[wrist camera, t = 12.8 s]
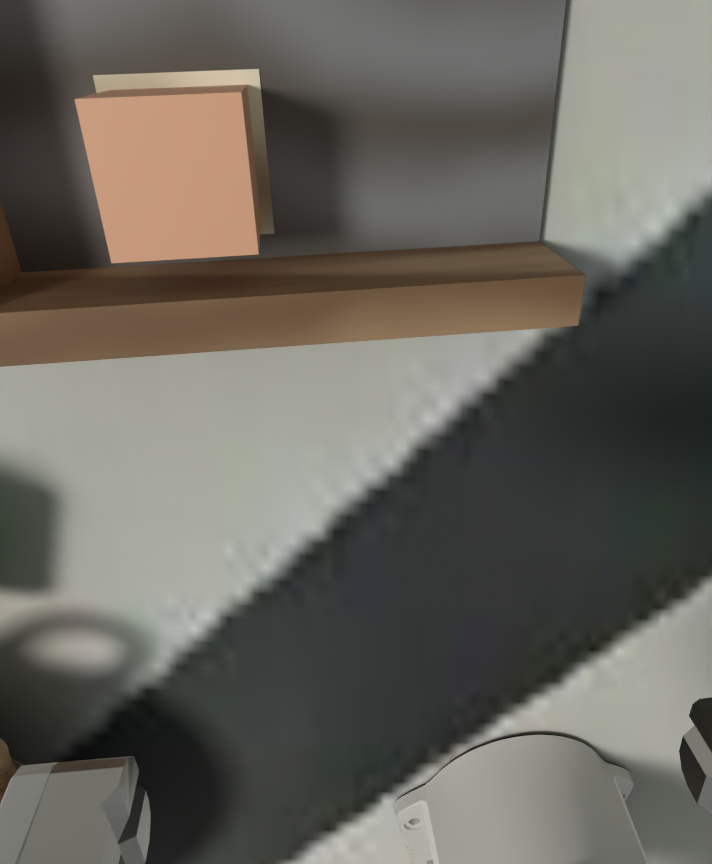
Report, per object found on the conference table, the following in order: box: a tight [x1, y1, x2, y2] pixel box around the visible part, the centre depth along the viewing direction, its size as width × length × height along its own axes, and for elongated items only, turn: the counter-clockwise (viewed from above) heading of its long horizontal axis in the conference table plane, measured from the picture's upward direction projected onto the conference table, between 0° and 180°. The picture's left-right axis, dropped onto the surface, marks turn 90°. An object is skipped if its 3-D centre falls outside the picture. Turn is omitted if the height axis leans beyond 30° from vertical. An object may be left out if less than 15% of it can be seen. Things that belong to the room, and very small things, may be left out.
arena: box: [0, 0, 586, 367], centre depth 23 cm, size 16×24×6 cm, turn 92°
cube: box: [75, 84, 261, 263], centre depth 23 cm, size 5×5×5 cm
